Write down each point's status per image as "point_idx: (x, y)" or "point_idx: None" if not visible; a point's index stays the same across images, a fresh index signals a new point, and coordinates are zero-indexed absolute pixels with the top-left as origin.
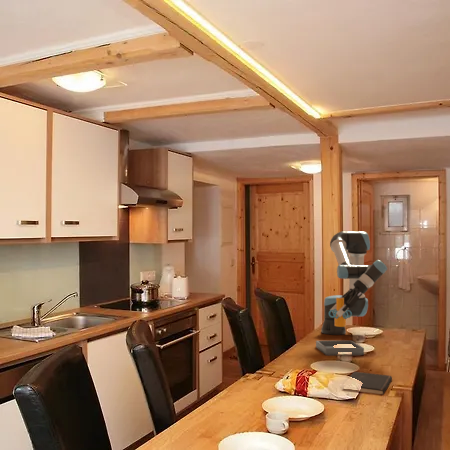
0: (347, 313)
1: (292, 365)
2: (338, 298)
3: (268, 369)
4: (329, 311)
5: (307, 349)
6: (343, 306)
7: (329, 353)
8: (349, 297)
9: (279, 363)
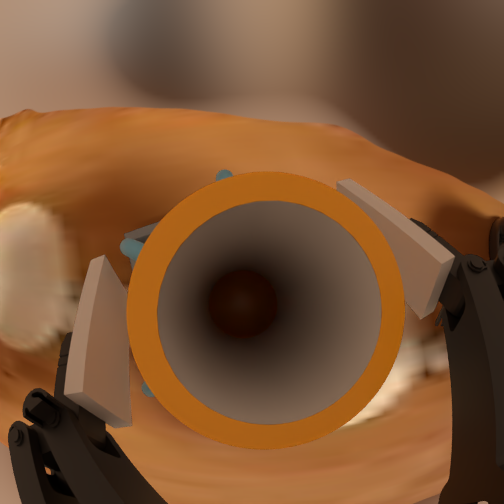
0: (142, 390)
1: (19, 160)
2: (144, 255)
3: (4, 126)
4: (218, 172)
5: (232, 162)
6: (69, 358)
7: None
8: (458, 478)
9: (38, 126)
